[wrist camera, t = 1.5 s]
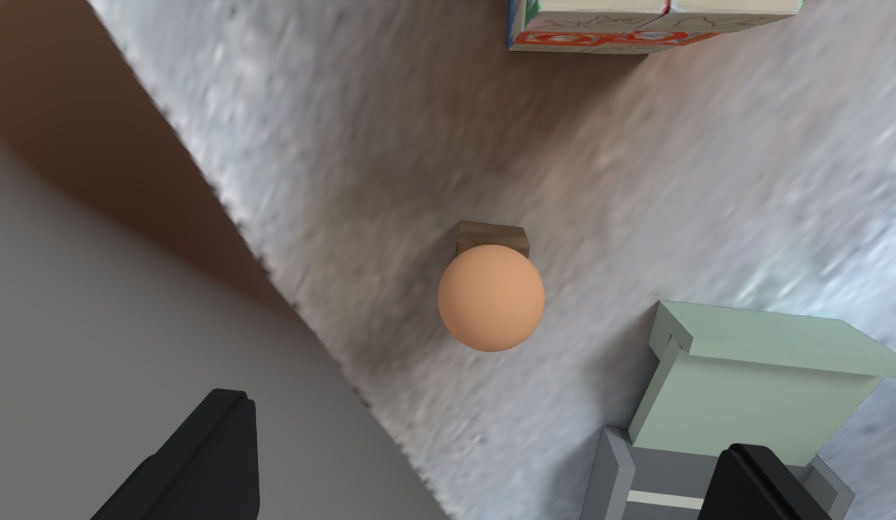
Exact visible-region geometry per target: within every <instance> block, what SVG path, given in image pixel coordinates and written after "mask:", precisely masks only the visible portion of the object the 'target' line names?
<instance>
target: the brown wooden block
mask: <svg viewBox="0 0 896 520" xmlns="http://www.w3.org/2000/svg"><path fill="white" fill-rule="evenodd" d="M482 245H500V246H505V247H508V248H511V249H513V250H515V251H517V252H519V253H520V254H522V255H523V256H524V257H526V258H527V259H528V256H529V250H530V245H529V242H528V240H527V237H526V234H525V231H524V229H523V228H521V227H512V226H503V225H493V224H484V223H474V222H465V221H460V224H459V231H458V238H457V248H456V257H457V256H459V255H460V254H461V253H463V252H465V251H467V250H469V249H471V248H474V247H477V246H482ZM456 257H455V258H456Z"/></svg>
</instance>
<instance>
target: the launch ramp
mask: <svg viewBox="0 0 896 520" xmlns="http://www.w3.org/2000/svg"><path fill="white" fill-rule="evenodd" d="M648 344H649V346H650V347H651V349H652V350H653V351H654V353H655V354H656V356H657V357H658V359H659V360H660V363H659V365H658V367H657V369H656V372H655V374H654V376H653V378H652V380H651V382H650V384H649V386H648V389H647V391H646V393H645V395H644V397H643V399H642V401H641V403H640V405H639V408H638V410H637V412H636V414H635V416H634V418H633V420H632V422H631V425H630V427H629V429H628V432H629V436H630V439H631V442H632V444H633V447H640V448H649V449H657V450H666V451H674V452H683V453H691V454H700V455H708V456H717V457H719V456H720V454H721V452H722V451H723V450H728V448H729V446H730V445H731V444H733V443H742V444H752V445H761V446H766V447H768V448H769V449H770V450H772V451H773V452H774V454H775V455H776V456H777V457H778V458H779V459H780V460H781V462H782V463H783V464H785V465H794V466H802V467H806V465H807V464H808V463H809V462H810V461H811V460H812V459H813V457H814V456H815V455H816V454H817V453H818V452H819V451H820V449H821V448H822V447H823V446H824V445H825V444H826V443H827V442H828V440H829V439H830V438H831V437H832V436H833V435H834V434H835V432H836V431H837V430H838V429H839V428H840V427H841V426H842V424H843V423H844V422H845V421H846V420H847V419H848V418H849V417H850V415H851V414H852V413H853V412H854V411H855V410H856V409H857V407H858V406H859V405H860V404H861V403H862V402H863V401H864V399H865V398H866V397H867V396H868V395H869V394H870V393H871V392H872V390H873V389H874V388H875V387H876V386H877V385H878V384H879V382H880V381H881V380H882V379H883V378H884V377H892V378H896V352H894V351H893V350H891V349H889V348H888V347H886V346H884V345H883V344H881V343H879V342H878V341H876V340H874V339H873V338H871V337H869V336H868V335H866V334H864V333H863V332H861V331H859V330H858V329H856V328H854V327H853V326H851V325H849V324H848V323H846V322H844V321H843V320H835V319H826V318H817V317H808V316H798V315H789V314H780V313H771V312H762V311H753V310H744V309H735V308H725V307H716V306H707V305H698V304H689V303H680V302H671V301H661V300H659V304H658V308H657V312H656V315H655V319H654V323H653V327H652V330H651V334H650V338H649V342H648Z"/></svg>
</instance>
